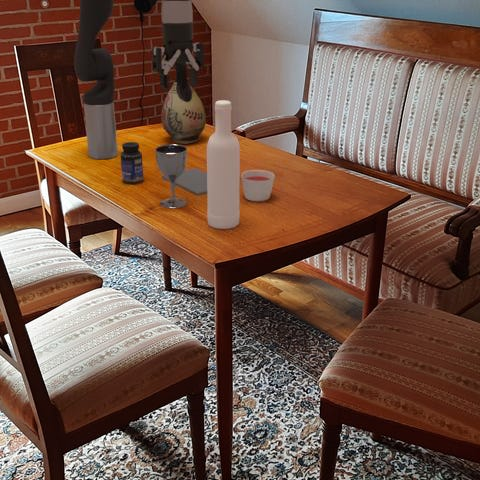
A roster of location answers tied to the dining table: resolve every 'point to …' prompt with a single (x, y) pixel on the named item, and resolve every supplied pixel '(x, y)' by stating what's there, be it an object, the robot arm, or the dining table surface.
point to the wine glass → (172, 169)
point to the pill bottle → (131, 163)
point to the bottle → (223, 171)
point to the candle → (257, 184)
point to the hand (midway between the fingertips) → (179, 87)
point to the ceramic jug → (183, 110)
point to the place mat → (192, 181)
